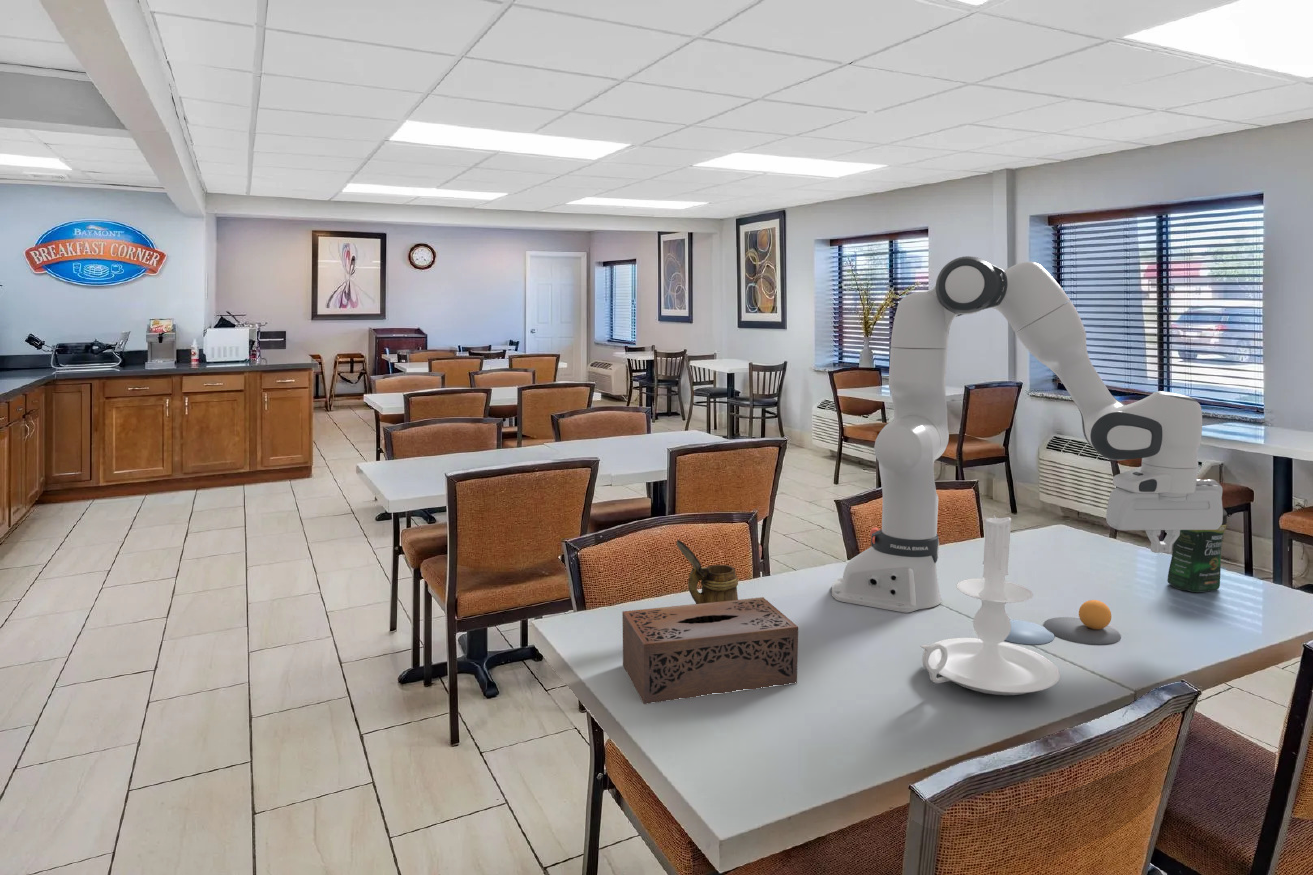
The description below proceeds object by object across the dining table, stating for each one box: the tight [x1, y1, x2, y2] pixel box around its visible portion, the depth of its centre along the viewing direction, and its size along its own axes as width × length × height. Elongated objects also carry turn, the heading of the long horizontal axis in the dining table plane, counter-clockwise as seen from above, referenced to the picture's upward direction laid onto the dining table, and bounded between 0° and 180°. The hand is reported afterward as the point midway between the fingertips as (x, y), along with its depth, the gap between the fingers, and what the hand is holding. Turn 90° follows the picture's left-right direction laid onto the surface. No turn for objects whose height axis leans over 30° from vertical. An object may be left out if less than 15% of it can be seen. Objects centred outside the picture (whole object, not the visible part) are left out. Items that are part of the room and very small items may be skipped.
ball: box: [1078, 599, 1112, 629], centre depth 153 cm, size 6×6×6 cm
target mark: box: [1042, 616, 1122, 646], centre depth 152 cm, size 13×13×1 cm
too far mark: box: [1004, 618, 1055, 646], centre depth 152 cm, size 12×12×1 cm
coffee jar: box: [1166, 507, 1228, 593], centre depth 175 cm, size 10×8×19 cm
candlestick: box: [920, 514, 1061, 696], centre depth 129 cm, size 21×25×28 cm
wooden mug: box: [676, 539, 739, 604], centre depth 154 cm, size 9×14×18 cm, turn 112°
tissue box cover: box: [621, 596, 799, 705], centre depth 133 cm, size 26×14×10 cm, turn 105°
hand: (1160, 552), depth 150 cm, fingers closed
